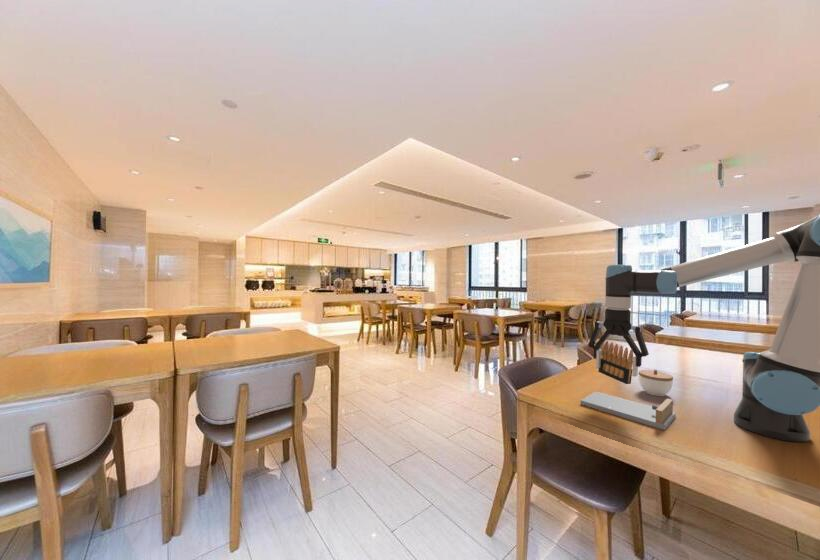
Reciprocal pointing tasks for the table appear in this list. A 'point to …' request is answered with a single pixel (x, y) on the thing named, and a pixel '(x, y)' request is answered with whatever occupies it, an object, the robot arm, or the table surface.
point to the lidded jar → (655, 382)
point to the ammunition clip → (617, 363)
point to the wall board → (633, 409)
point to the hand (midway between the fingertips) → (616, 371)
